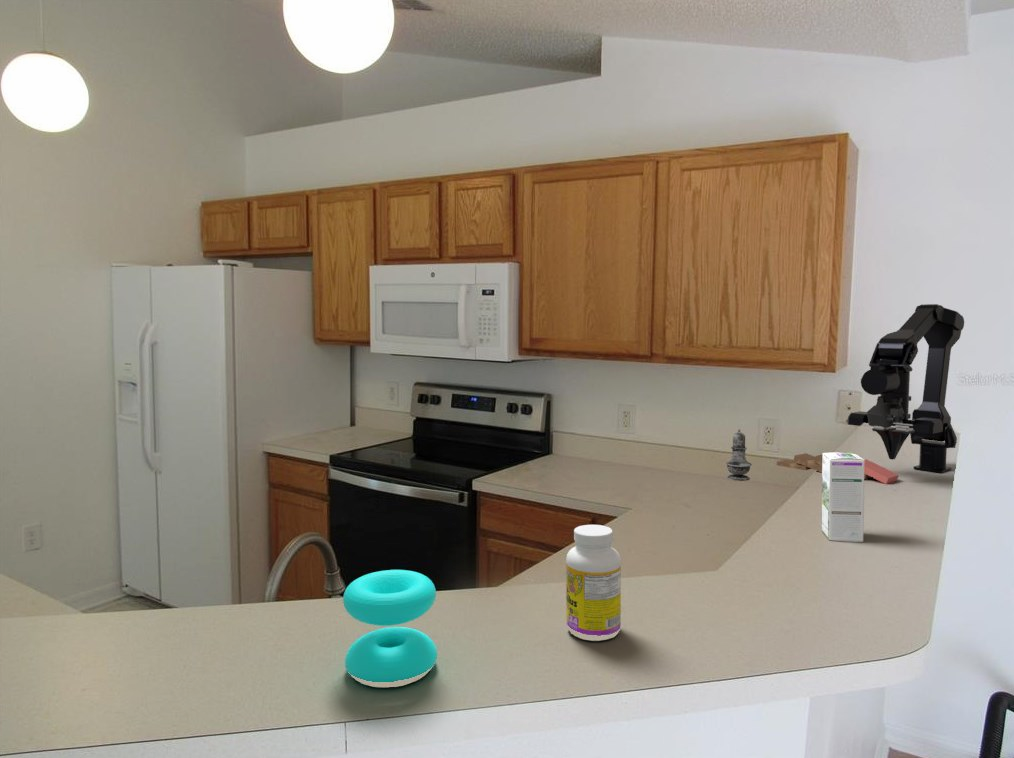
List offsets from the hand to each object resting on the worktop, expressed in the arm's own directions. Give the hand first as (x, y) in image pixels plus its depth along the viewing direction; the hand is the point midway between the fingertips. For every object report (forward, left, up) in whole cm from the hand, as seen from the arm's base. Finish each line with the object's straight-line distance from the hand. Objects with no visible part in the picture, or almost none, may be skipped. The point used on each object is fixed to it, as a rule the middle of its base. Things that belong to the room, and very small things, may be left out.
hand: (892, 459), depth 160 cm
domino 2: (0, -15, -5) cm, 16 cm away
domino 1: (0, -20, -5) cm, 20 cm away
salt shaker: (+23, -25, -6) cm, 34 cm away
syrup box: (+48, +13, -6) cm, 50 cm away
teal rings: (+132, +6, -6) cm, 132 cm away
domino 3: (0, -10, -5) cm, 11 cm away
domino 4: (0, -5, -5) cm, 7 cm away
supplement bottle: (+108, +13, -6) cm, 109 cm away
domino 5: (0, 0, -5) cm, 5 cm away
